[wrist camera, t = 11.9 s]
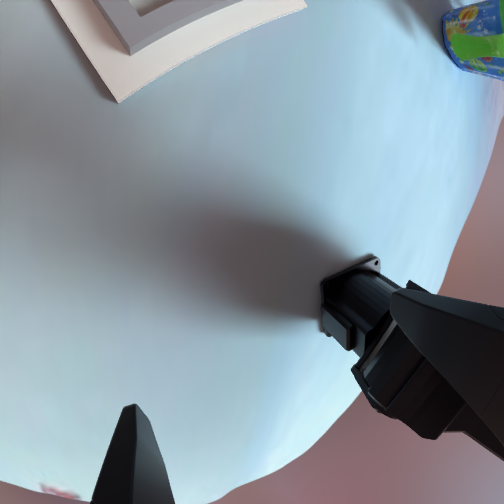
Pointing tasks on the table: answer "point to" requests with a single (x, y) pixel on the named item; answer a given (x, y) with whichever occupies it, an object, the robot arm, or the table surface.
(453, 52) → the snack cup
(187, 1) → the square framed plate
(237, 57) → the table surface
